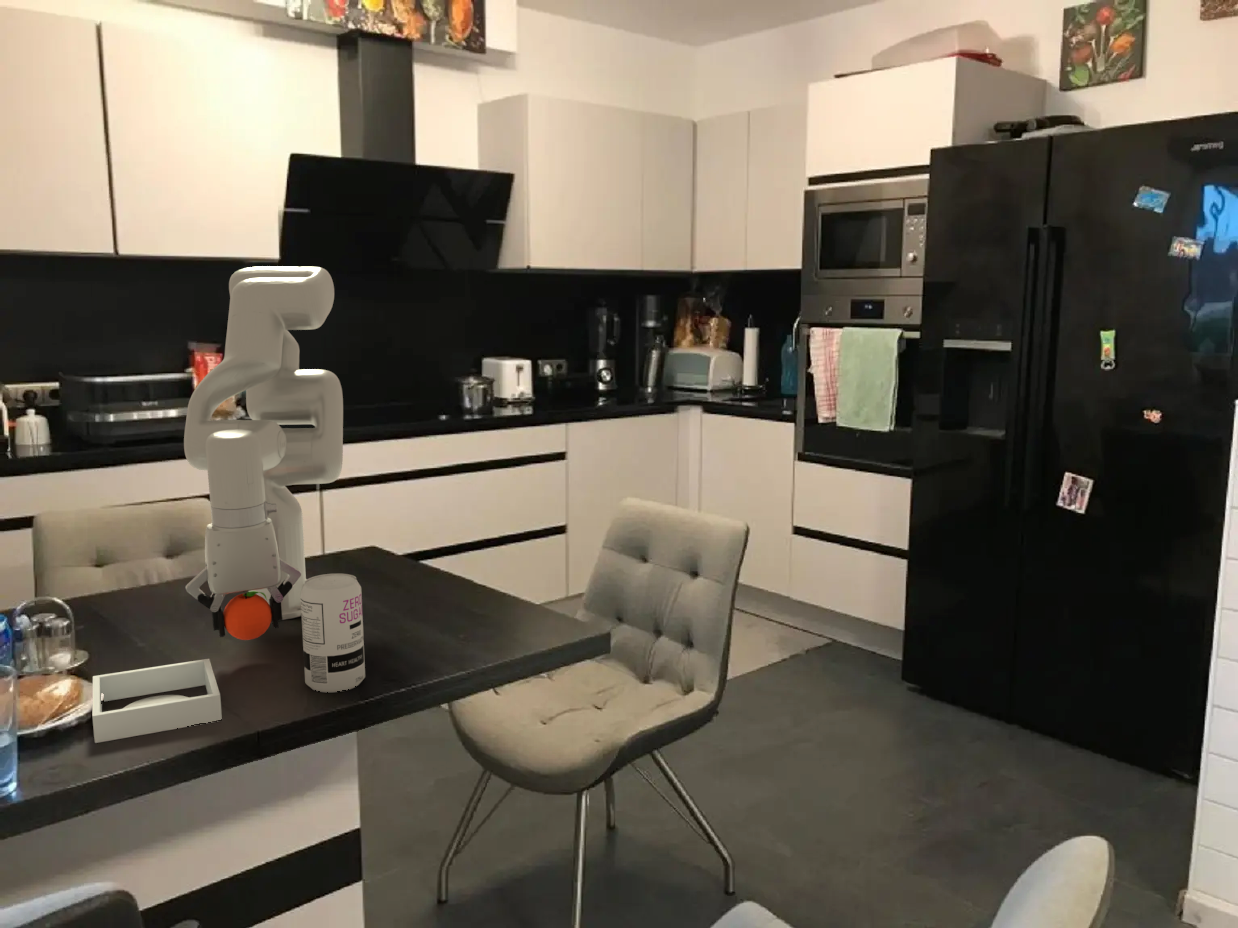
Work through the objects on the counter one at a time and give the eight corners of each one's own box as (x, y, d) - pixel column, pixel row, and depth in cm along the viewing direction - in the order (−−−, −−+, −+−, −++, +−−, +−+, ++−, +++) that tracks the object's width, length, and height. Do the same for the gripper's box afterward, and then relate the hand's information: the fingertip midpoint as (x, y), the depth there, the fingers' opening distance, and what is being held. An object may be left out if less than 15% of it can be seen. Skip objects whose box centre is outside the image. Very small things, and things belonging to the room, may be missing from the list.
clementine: (250, 624, 157) (246, 580, 156) (287, 630, 155) (284, 586, 154) (214, 643, 150) (210, 598, 148) (253, 650, 148) (249, 604, 146)
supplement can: (312, 673, 147) (306, 573, 145) (369, 671, 148) (365, 571, 145) (299, 695, 139) (293, 589, 137) (360, 693, 140) (355, 588, 137)
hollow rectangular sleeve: (210, 682, 144) (209, 658, 143) (221, 720, 131) (220, 694, 130) (95, 700, 137) (92, 676, 137) (94, 742, 124) (92, 716, 124)
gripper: (296, 502, 155) (303, 611, 159) (172, 515, 147) (183, 630, 151) (305, 514, 149) (312, 628, 153) (176, 529, 141) (187, 648, 145)
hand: (248, 628), depth 152 cm, fingers closed on clementine, 7 cm apart
